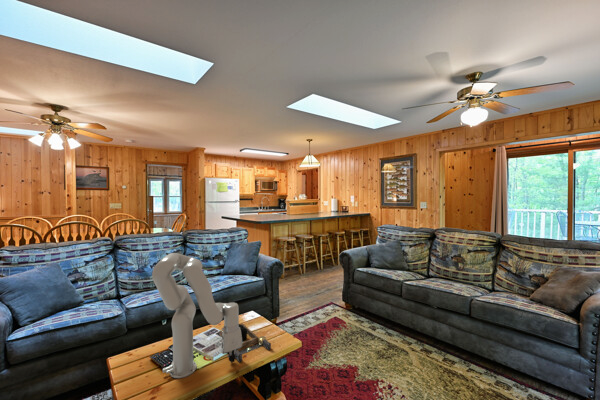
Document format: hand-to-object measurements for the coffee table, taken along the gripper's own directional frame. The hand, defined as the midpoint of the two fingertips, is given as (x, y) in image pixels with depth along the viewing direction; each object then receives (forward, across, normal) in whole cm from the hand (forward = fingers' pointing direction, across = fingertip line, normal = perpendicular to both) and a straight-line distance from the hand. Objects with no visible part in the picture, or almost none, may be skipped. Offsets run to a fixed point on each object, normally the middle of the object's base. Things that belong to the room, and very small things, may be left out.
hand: (231, 361), depth 140 cm
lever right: (+1, +22, +3) cm, 22 cm away
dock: (+1, +13, +20) cm, 24 cm away
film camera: (+2, +13, +23) cm, 27 cm away
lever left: (+1, +4, +3) cm, 5 cm away
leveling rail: (+2, +13, +6) cm, 15 cm away
